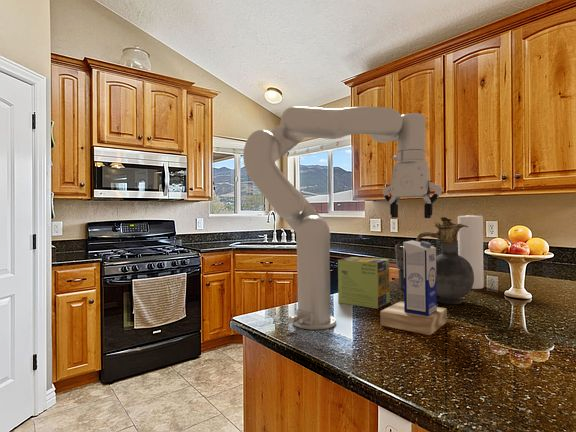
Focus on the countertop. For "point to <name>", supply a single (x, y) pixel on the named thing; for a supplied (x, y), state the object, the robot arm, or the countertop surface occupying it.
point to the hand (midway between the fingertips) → (410, 217)
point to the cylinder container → (472, 246)
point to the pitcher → (450, 264)
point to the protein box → (363, 282)
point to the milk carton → (419, 278)
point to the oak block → (412, 319)
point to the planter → (400, 264)
